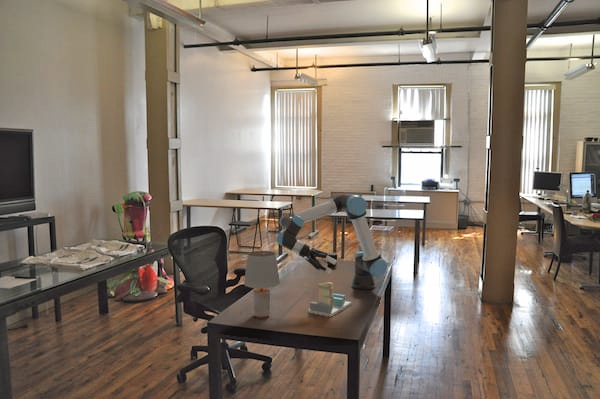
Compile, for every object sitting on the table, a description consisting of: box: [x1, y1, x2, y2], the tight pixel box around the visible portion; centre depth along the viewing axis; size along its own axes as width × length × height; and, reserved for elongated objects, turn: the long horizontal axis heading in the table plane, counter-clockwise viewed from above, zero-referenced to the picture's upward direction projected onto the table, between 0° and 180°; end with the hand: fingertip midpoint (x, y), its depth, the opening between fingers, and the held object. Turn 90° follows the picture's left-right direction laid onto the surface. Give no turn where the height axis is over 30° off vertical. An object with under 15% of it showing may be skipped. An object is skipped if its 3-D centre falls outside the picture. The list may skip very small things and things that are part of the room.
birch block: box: [318, 281, 334, 308], centre depth 268 cm, size 6×6×14 cm
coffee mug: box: [321, 252, 339, 268], centre depth 372 cm, size 12×9×10 cm
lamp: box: [243, 250, 281, 319], centre depth 258 cm, size 19×19×34 cm
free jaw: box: [333, 292, 346, 306], centre depth 278 cm, size 8×12×4 cm
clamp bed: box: [307, 300, 352, 318], centre depth 272 cm, size 25×14×6 cm, turn 148°
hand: (333, 267), depth 276 cm, fingers open, 13 cm apart
